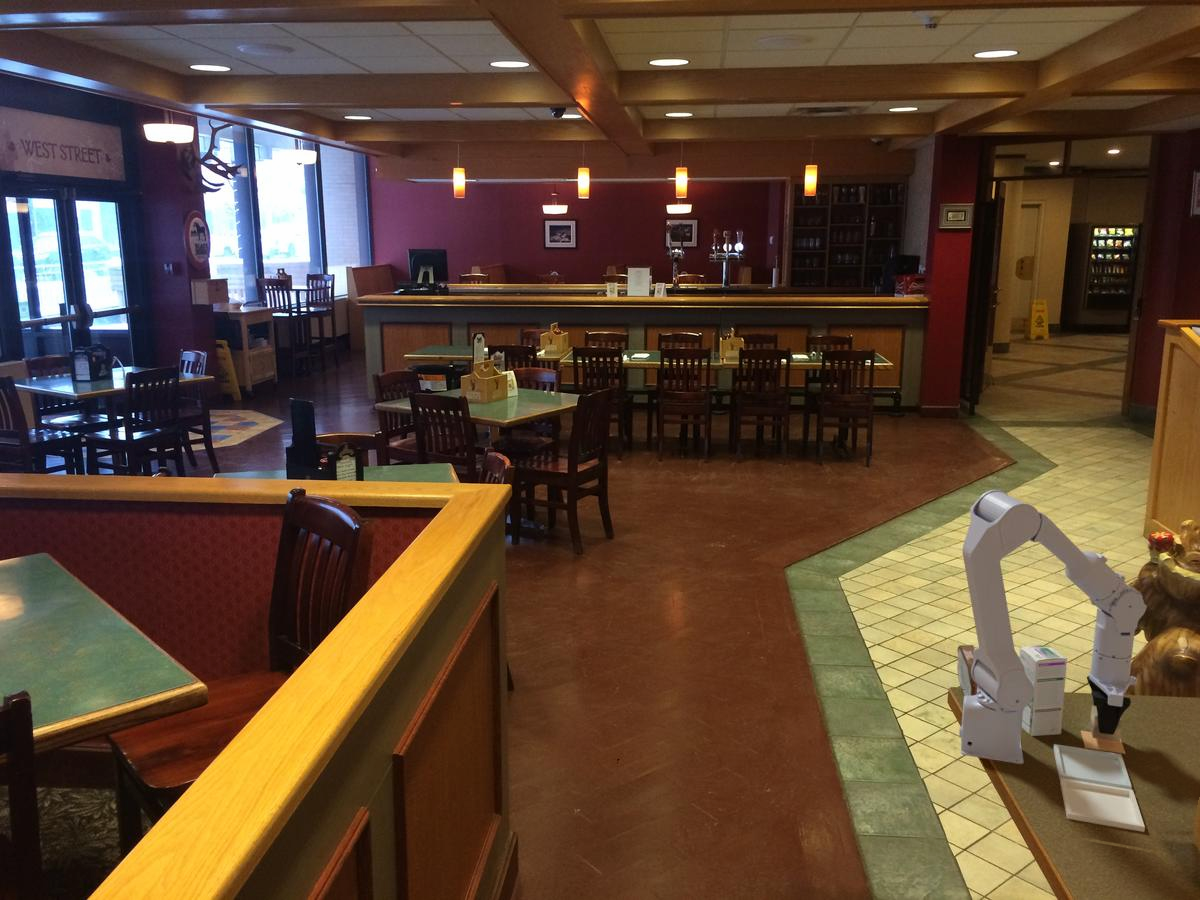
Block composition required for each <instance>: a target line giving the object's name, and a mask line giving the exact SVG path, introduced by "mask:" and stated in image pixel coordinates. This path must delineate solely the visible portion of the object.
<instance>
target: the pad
mask: <svg viewBox="0 0 1200 900" xmlns="http://www.w3.org/2000/svg"><path fill="white" fill-rule="evenodd" d="M1080 734H1081V737H1082V741H1083V744H1084V749H1090V750H1097V751H1104V752H1110V753H1117V754H1124V755H1125V754H1126V751H1125V748H1124V747H1125V746H1124V745H1123V742H1122V739H1121V737H1120V742H1117V741H1110V740H1103V739H1096V738H1093V737H1092V733H1091V731H1086V730H1080Z"/></svg>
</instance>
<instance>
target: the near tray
mask: <svg viewBox="0 0 1200 900" xmlns="http://www.w3.org/2000/svg"><path fill="white" fill-rule="evenodd" d="M1059 784H1060V785H1059V786H1060V788H1061V789H1060V790H1061V794H1062V800H1063V805H1064V809H1065V815H1066V816H1065V817H1066V819H1067V820H1072V821H1073V820H1074V821H1079V822H1083V823H1089V824H1090V823H1091V824H1096V825H1102V826H1107V827H1112V828H1113V827H1114V828H1118V829H1124V830H1128V831H1129V830H1131V831H1135V832H1142V833H1145V829H1146V826H1145V824H1144V820H1143V817H1142V814H1141V811H1140V807H1139V805H1138V802H1137V799H1136V795H1135V793H1134V789H1132V788H1131V789H1125V788H1118V787H1112V786H1106V785H1100V784H1094V783H1088V782H1082V781H1075V780H1069V779H1063V778H1061V779H1060V782H1059Z"/></svg>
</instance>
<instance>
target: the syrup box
mask: <svg viewBox="0 0 1200 900" xmlns="http://www.w3.org/2000/svg"><path fill="white" fill-rule="evenodd" d="M1018 654H1019V655H1018V657H1019V658H1020V660H1021V662H1022V664H1023V666H1024V669H1025V674H1026V676H1027V678H1028V679H1029V680H1030V681H1031V682H1032V684H1033V687H1034V694H1033V698H1032V700H1031V701H1030V703H1029V704H1028V705H1027V706H1026V707H1024V711H1023V717H1022V728H1021V729H1023V730H1024V732H1026V733H1027V734H1028V735H1030V737H1036V736H1050V735H1051V736H1052V735H1053V736H1054V735H1061V734H1062V725H1063V714H1064V712H1063V711H1064V702H1065V701H1064V700H1065V689H1066V688H1065V687H1066V679H1067V675H1066V674H1067V663H1068V658H1067V657H1066V656H1064V655H1063V654H1061V653H1060V652H1058V651H1057V650H1056V649H1055V648H1053V647H1052V646H1050V645H1042V644H1040V645H1036V644H1035V645H1026V646H1020V647H1019V653H1018Z"/></svg>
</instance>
